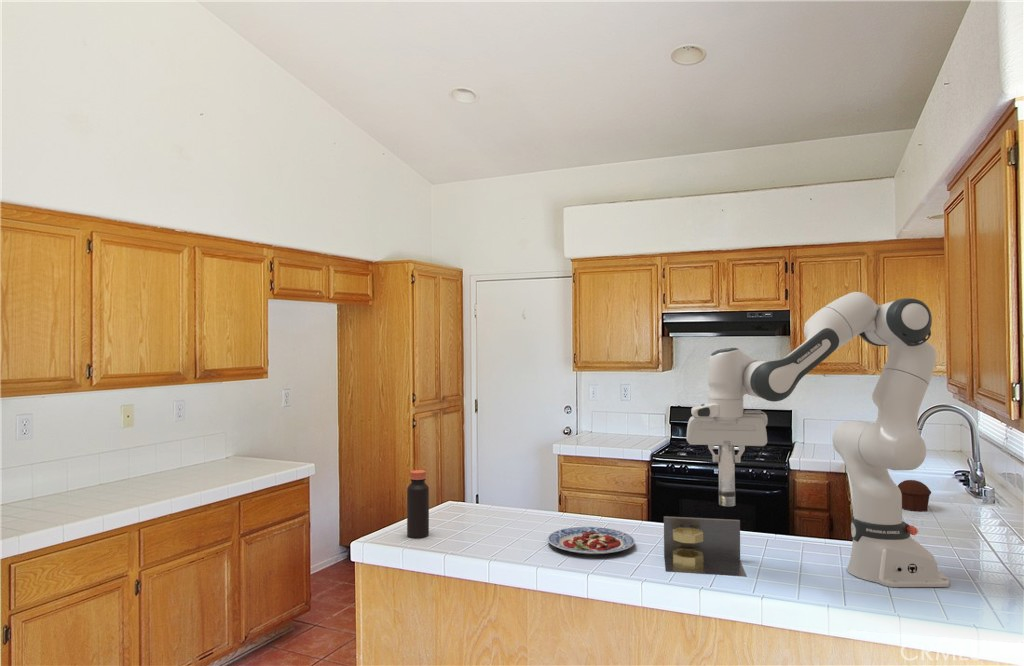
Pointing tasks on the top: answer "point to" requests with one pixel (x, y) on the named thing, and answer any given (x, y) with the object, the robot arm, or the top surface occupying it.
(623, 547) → the ceramic plate
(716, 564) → the collar stand
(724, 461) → the grey metal rod
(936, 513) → the top surface
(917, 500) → the muffin
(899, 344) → the robot arm
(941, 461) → the top surface
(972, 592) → the top surface
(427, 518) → the bottle
